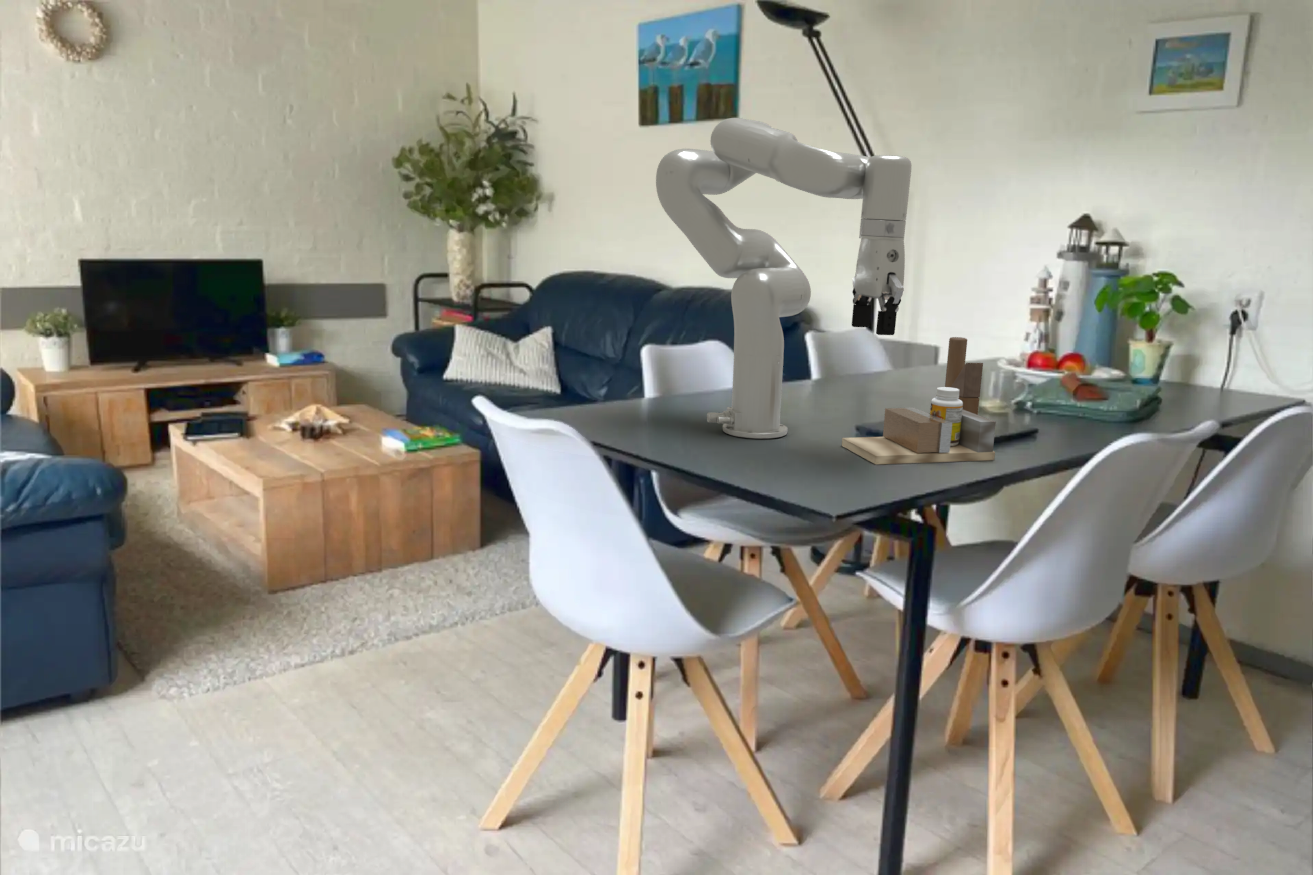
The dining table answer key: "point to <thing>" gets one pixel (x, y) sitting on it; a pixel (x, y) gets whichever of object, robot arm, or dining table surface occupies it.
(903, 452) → the vise bed
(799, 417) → the dining table surface
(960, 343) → the wooden block
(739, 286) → the robot arm
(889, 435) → the block
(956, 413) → the supplement bottle
